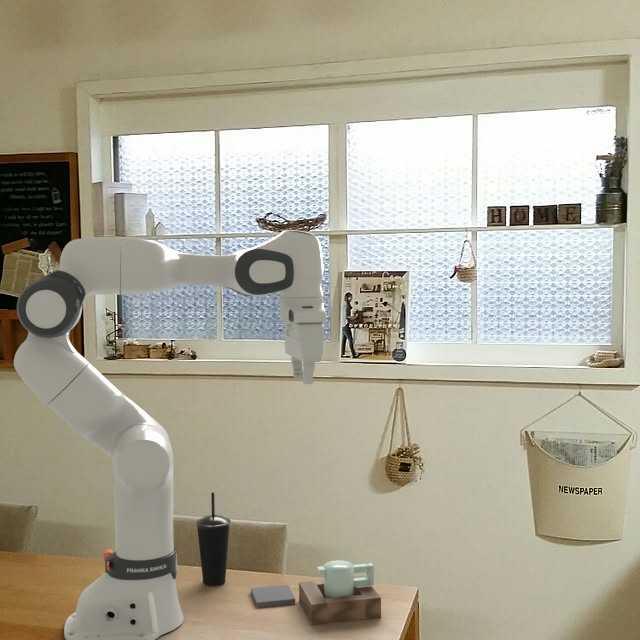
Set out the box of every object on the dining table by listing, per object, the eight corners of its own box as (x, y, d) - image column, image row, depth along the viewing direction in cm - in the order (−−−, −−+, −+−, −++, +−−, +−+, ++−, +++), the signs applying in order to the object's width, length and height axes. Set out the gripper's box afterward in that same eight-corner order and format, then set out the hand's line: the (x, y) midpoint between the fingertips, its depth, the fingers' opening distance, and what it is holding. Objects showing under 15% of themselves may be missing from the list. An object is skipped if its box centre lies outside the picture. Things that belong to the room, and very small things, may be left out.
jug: (322, 617, 163) (321, 572, 162) (315, 605, 169) (315, 562, 168) (377, 611, 165) (376, 567, 165) (368, 600, 171) (368, 557, 171)
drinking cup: (225, 590, 178) (224, 498, 176) (191, 587, 179) (190, 496, 178) (236, 577, 185) (234, 489, 184) (203, 575, 187) (202, 487, 186)
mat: (256, 607, 168) (256, 602, 168) (251, 592, 176) (251, 588, 176) (295, 603, 170) (295, 598, 170) (288, 589, 178) (288, 584, 178)
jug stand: (311, 624, 159) (311, 604, 159) (299, 601, 171) (298, 582, 171) (381, 617, 163) (381, 597, 162) (364, 594, 174) (364, 576, 174)
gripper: (276, 310, 174) (278, 375, 175) (296, 314, 154) (297, 388, 155) (306, 309, 176) (307, 374, 176) (328, 313, 156) (330, 386, 157)
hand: (302, 380), depth 166 cm, fingers open, 8 cm apart
